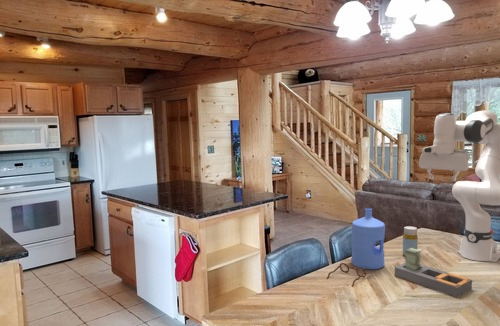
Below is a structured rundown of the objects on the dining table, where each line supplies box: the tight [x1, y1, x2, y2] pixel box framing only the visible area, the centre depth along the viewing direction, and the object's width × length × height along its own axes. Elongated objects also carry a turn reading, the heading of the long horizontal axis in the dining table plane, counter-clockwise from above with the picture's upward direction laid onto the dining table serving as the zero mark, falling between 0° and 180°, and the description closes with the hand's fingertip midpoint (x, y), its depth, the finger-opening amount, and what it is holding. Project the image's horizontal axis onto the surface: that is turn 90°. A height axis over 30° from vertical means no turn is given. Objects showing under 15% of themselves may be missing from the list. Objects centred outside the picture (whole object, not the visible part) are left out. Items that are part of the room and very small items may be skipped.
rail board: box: [394, 262, 473, 298], centre depth 169 cm, size 12×28×4 cm, turn 36°
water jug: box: [351, 207, 386, 270], centre depth 190 cm, size 16×16×28 cm
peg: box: [404, 248, 421, 271], centre depth 176 cm, size 4×4×12 cm
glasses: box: [326, 262, 367, 288], centre depth 174 cm, size 13×13×5 cm
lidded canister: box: [402, 225, 419, 257], centre depth 202 cm, size 7×7×15 cm
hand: (442, 179), depth 176 cm, fingers open, 8 cm apart
